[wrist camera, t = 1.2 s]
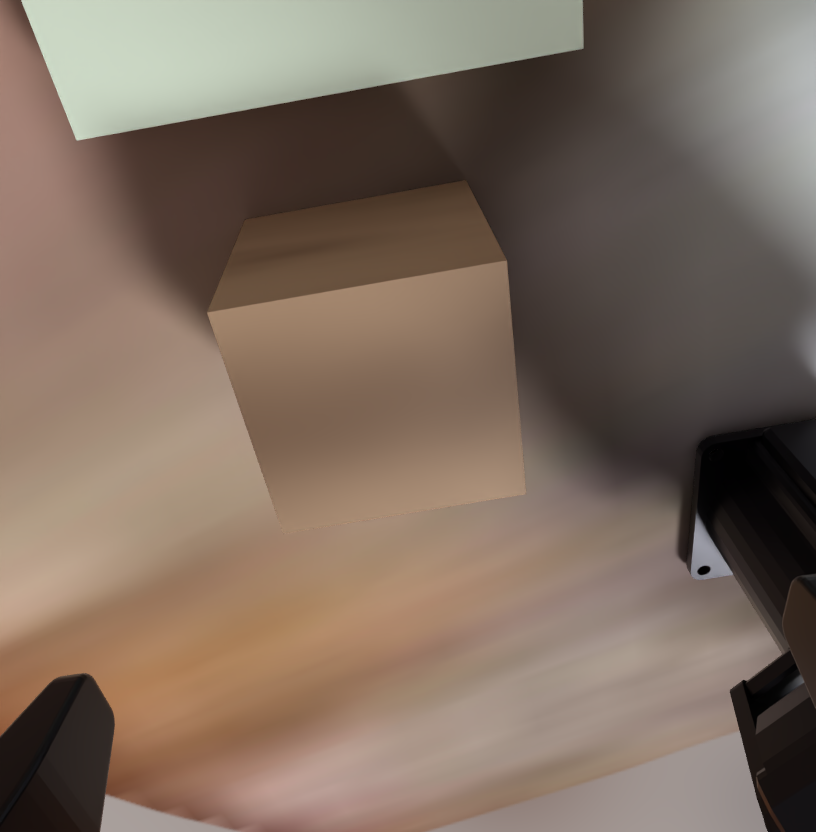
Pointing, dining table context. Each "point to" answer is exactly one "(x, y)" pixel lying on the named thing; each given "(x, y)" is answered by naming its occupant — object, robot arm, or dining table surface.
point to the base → (271, 50)
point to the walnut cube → (373, 356)
